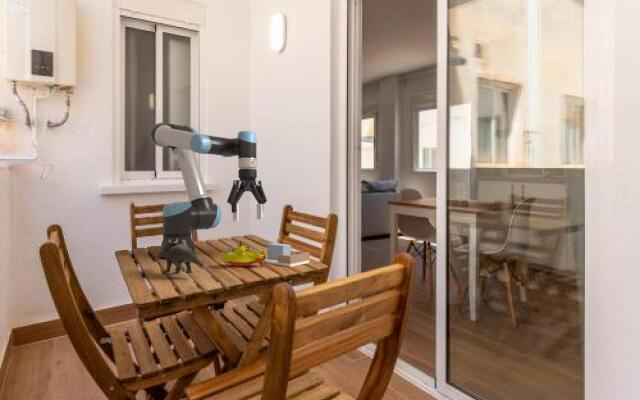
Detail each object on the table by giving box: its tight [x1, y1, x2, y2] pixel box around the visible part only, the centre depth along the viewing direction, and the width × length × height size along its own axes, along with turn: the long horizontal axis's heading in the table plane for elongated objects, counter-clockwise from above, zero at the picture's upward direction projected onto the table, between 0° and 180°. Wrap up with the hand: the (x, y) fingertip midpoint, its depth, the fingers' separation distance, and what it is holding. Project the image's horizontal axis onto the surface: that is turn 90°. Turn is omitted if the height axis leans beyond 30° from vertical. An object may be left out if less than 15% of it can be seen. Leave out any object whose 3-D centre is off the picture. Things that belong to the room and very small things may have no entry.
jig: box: [228, 244, 310, 268], centre depth 162 cm, size 37×11×4 cm, turn 52°
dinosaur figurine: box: [162, 238, 205, 275], centre depth 136 cm, size 22×8×11 cm, turn 48°
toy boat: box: [220, 240, 267, 268], centre depth 148 cm, size 6×18×10 cm, turn 78°
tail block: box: [266, 242, 292, 260], centre depth 158 cm, size 9×4×6 cm, turn 52°
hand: (248, 220), depth 159 cm, fingers open, 13 cm apart
